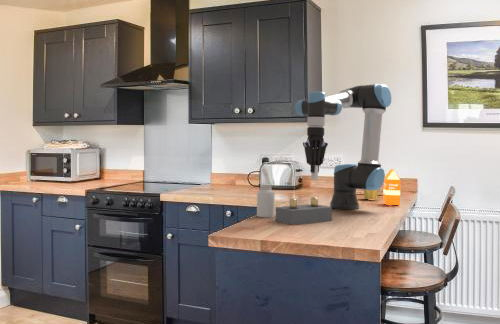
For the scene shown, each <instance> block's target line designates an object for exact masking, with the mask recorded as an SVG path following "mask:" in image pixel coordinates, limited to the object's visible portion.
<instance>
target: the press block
mask: <svg viewBox="0 0 500 324" xmlns="http://www.w3.org/2000/svg"><path fill="white" fill-rule="evenodd" d="M289 206H290V205H286V206H276V207H275V217H274V219H275V222H279V223H283V222H284V224H287V223H288V224H287V225H291V224H292V225H291V226H293V224H297V225H305V224H304V223H306V224H313V223H315V224H316V223H324V222H332V219H333V217H332V216H333V213H332V210H333V208H332V207H330V206H326V205H321V204H318V207H311V203H309V204H297V209H290V208H289Z"/></svg>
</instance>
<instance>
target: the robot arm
mask: <svg viewBox="0 0 500 324" xmlns="http://www.w3.org/2000/svg"><path fill="white" fill-rule="evenodd" d="M307 95H308V96H307V98H308V99H299V100H297V101H296V103H295V105H294V108H295V109H294V110H295V113H296V114H297V115H299V116H300V117H301V116H303V117H305V116H307V129H306V132H307V134H306V135H307V139H306V141H304V142H302V145H303V148H304V153H305V161H306V164H307V165H308V166H310V173H311V174H310V175H311V177H310V180H311V181H318V179H319V173H320V172H319V171H320V166H322V165H323V164H324V161H325V154H326V149H327V148H328V142H326V141H325V140H324V139H325V138H324V136H325V123H326V122H325V121H326V119H325V118H326V116H337V115H339V114H341V112H342V109H348V108H350V109H351V108H354V109H355V108H357V109H361V108H362V112H363V113H364V120H363V121H364V122H363V131H362V132H363V134H362V145H361V146H362V147H361V157H360V160H359V161H357V163H345V164H337V165H335V166H334V168H333V169H334V171H333V194H332V197H331V201H330V203H329V207H332V209H338V210H357V209H359V208H360V203H359V199H358V196H357V190H362V191H363V190H378V189H379V190H380V189H381V187H383V186H384V179H385V176H386V173H385V170H384V168H383V167H381V166H382V164H381V163H380V162H379V157H380V145H381V144H380V143H381V133H382V121H383V114H384V113H386V111H387V109H386V108H388V107H389V106H390V105H391V104H392V93H391V90H390V88H389V87H388V85H386V84H384V83H374V84H373V83H372V84H366V85H365V84H364V85H361V84H360V85H356V86H353V87H350V88H345V89H342V90H340V91H339V92H336V93H332V94H327V95H326V93H325V92H324V91H311V92H310V91H309V92H308V94H307Z"/></svg>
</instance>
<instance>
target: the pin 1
mask: <svg viewBox="0 0 500 324" xmlns="http://www.w3.org/2000/svg"><path fill="white" fill-rule="evenodd" d="M297 205H298V199H297V198H289V205H288V206H289V208H290V209H297Z"/></svg>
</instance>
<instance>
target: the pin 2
mask: <svg viewBox="0 0 500 324" xmlns="http://www.w3.org/2000/svg"><path fill="white" fill-rule="evenodd" d="M310 204H311V207H318V205H319V197H316V196H311V197H310Z"/></svg>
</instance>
